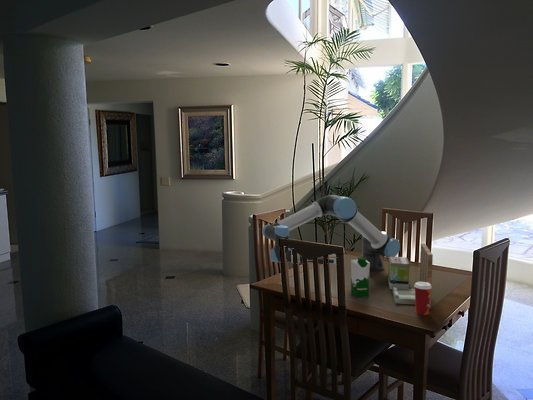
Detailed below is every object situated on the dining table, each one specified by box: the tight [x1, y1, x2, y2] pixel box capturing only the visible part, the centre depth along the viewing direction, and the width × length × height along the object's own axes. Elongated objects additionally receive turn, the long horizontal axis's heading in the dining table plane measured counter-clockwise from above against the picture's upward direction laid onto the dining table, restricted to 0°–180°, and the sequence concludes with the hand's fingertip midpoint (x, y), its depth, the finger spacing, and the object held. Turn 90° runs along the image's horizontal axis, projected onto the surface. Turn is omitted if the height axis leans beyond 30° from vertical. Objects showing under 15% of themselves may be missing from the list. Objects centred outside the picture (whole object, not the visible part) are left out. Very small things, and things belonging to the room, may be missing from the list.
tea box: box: [387, 256, 411, 290], centre depth 249 cm, size 15×10×15 cm, turn 168°
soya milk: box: [350, 256, 370, 298], centre depth 235 cm, size 9×9×20 cm
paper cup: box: [413, 281, 433, 316], centre depth 210 cm, size 8×8×14 cm
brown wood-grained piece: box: [392, 243, 434, 309], centre depth 228 cm, size 24×16×26 cm, turn 169°
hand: (340, 257), depth 235 cm, fingers open, 13 cm apart
